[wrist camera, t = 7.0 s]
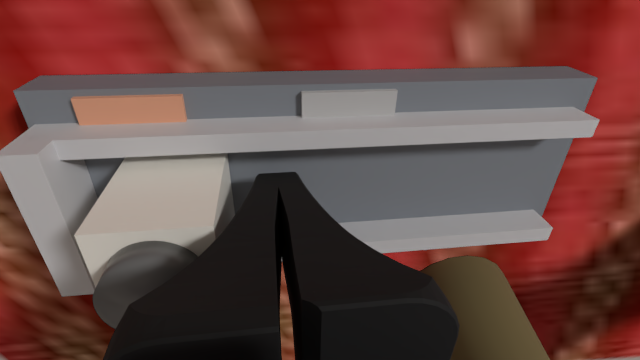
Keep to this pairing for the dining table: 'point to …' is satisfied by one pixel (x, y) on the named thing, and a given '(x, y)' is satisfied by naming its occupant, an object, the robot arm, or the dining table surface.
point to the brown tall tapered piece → (485, 311)
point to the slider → (152, 225)
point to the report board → (311, 147)
